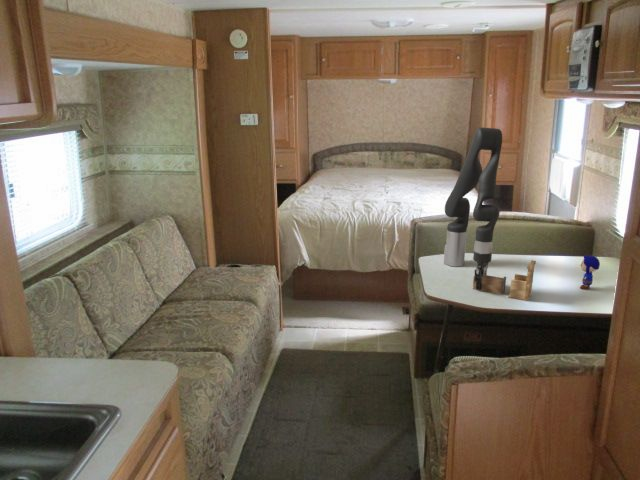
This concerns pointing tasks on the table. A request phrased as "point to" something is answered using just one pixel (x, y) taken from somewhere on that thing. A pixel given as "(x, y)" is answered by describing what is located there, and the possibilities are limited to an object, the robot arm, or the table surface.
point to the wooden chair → (522, 284)
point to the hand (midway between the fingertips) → (479, 287)
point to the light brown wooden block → (492, 284)
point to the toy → (589, 270)
